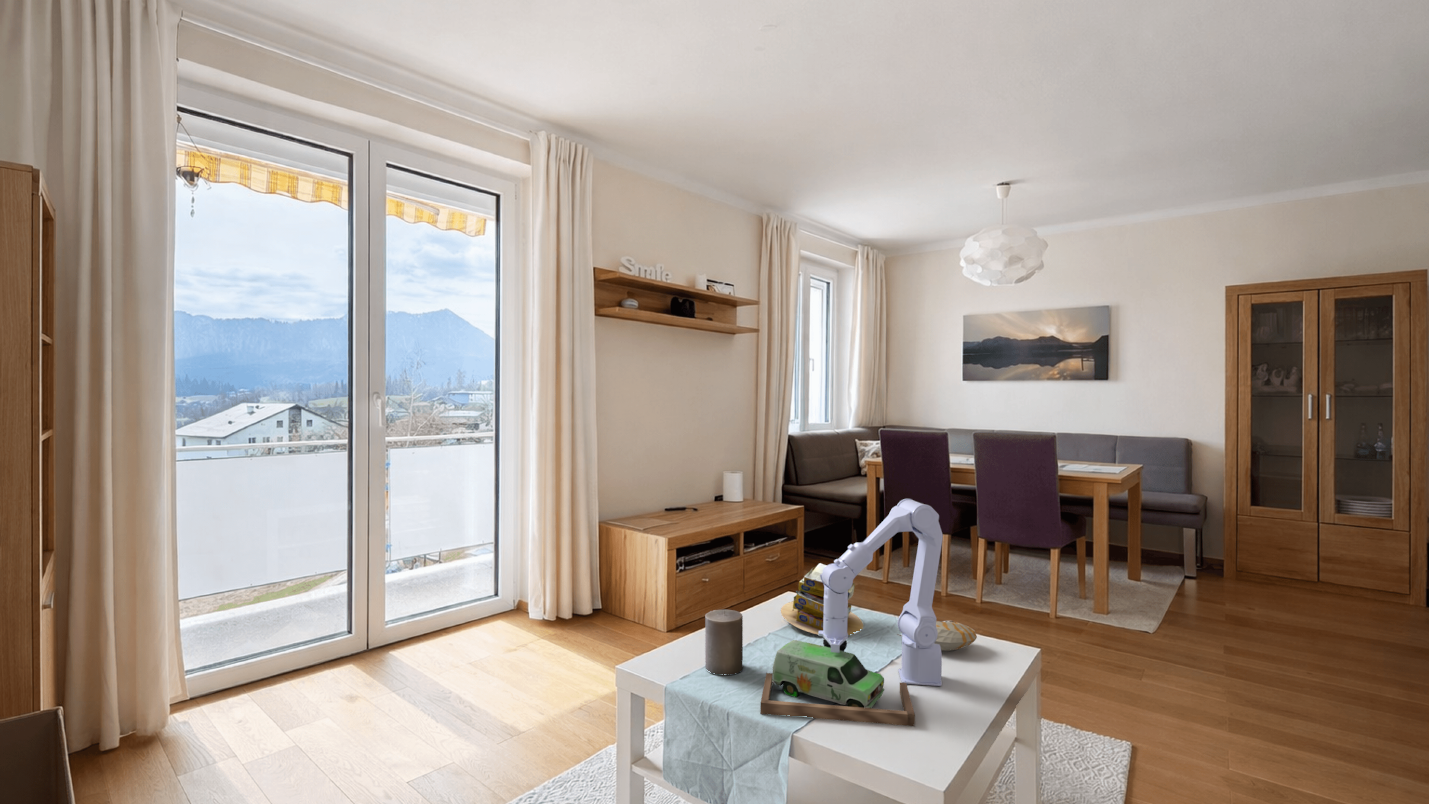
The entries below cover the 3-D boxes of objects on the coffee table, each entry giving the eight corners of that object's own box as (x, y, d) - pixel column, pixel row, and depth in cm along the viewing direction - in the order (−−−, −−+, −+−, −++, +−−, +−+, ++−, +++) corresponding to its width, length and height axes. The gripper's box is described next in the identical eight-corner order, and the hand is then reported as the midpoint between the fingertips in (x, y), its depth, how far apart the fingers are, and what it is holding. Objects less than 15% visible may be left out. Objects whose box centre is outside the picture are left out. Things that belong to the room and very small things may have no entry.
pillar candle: (750, 667, 179) (750, 609, 179) (725, 679, 172) (725, 618, 172) (722, 658, 186) (722, 601, 185) (696, 669, 178) (696, 610, 178)
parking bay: (906, 693, 165) (906, 682, 165) (914, 726, 149) (914, 714, 149) (766, 683, 170) (766, 672, 170) (760, 713, 154) (760, 702, 154)
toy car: (868, 720, 152) (868, 675, 151) (769, 690, 166) (769, 649, 165) (886, 700, 161) (886, 657, 160) (791, 674, 175) (791, 634, 174)
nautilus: (887, 646, 196) (910, 634, 207) (964, 661, 182) (983, 648, 193) (887, 617, 196) (909, 607, 208) (963, 631, 182) (983, 619, 194)
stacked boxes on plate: (878, 623, 213) (879, 568, 213) (833, 645, 195) (834, 585, 195) (811, 605, 230) (812, 554, 229) (764, 623, 212) (764, 569, 211)
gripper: (819, 604, 176) (818, 657, 177) (818, 624, 162) (817, 682, 163) (847, 606, 175) (846, 659, 176) (849, 626, 161) (847, 684, 161)
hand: (834, 670), depth 169 cm, fingers closed, pressing on toy car
